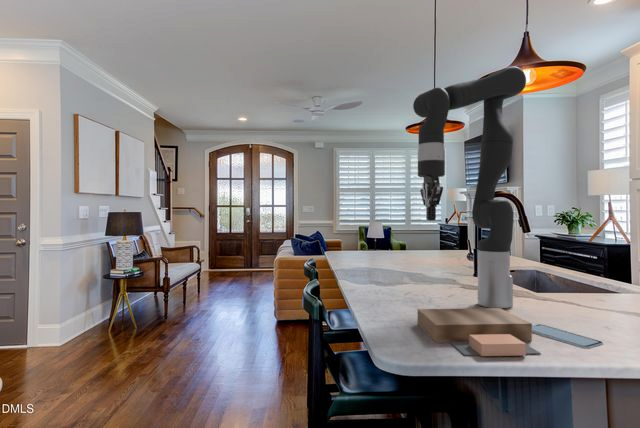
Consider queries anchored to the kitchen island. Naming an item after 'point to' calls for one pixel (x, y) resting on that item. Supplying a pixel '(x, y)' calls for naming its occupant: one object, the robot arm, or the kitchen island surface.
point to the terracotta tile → (497, 345)
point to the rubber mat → (469, 351)
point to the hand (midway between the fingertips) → (431, 220)
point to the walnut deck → (471, 324)
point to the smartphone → (565, 336)
